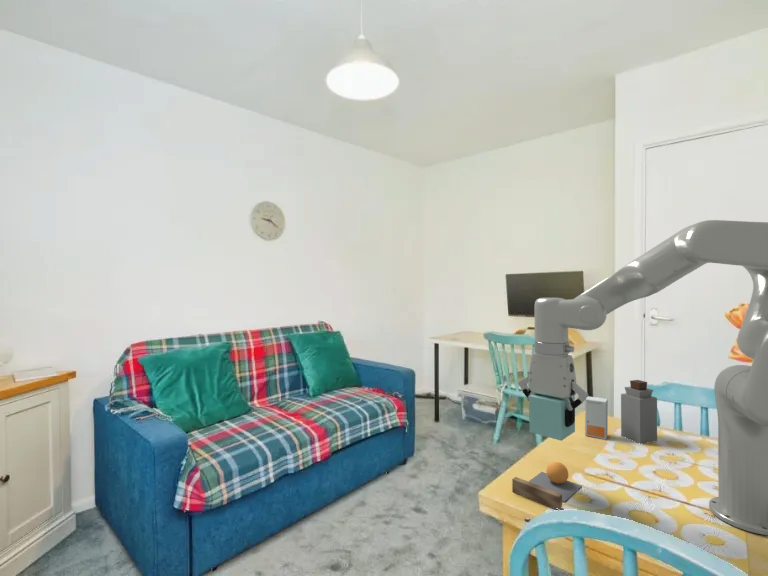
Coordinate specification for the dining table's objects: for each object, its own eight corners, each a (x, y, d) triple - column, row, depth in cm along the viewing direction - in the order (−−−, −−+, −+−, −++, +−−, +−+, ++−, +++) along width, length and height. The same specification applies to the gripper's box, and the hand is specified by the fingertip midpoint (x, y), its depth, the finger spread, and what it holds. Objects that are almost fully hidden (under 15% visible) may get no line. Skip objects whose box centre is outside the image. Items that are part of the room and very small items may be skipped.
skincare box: (585, 436, 128) (584, 398, 128) (587, 431, 132) (586, 395, 131) (606, 440, 125) (606, 401, 124) (608, 435, 128) (607, 398, 128)
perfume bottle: (657, 441, 123) (656, 383, 123) (640, 444, 121) (639, 384, 121) (637, 433, 130) (637, 378, 129) (621, 435, 128) (620, 379, 128)
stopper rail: (562, 507, 88) (561, 494, 88) (558, 510, 87) (558, 496, 87) (515, 489, 96) (515, 476, 96) (512, 491, 95) (512, 479, 95)
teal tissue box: (574, 431, 97) (574, 395, 97) (561, 440, 92) (560, 402, 92) (544, 423, 103) (543, 389, 102) (529, 431, 97) (529, 396, 97)
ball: (561, 476, 95) (566, 491, 96) (568, 460, 98) (573, 475, 99) (541, 470, 98) (546, 484, 100) (548, 454, 101) (553, 468, 103)
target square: (581, 486, 97) (581, 485, 97) (564, 502, 90) (564, 501, 90) (541, 472, 104) (541, 471, 104) (522, 486, 97) (522, 485, 97)
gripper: (595, 351, 93) (595, 426, 93) (524, 343, 106) (525, 409, 106) (582, 355, 88) (583, 435, 88) (510, 346, 100) (510, 416, 101)
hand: (551, 420), depth 97 cm, fingers closed on teal tissue box, 7 cm apart
